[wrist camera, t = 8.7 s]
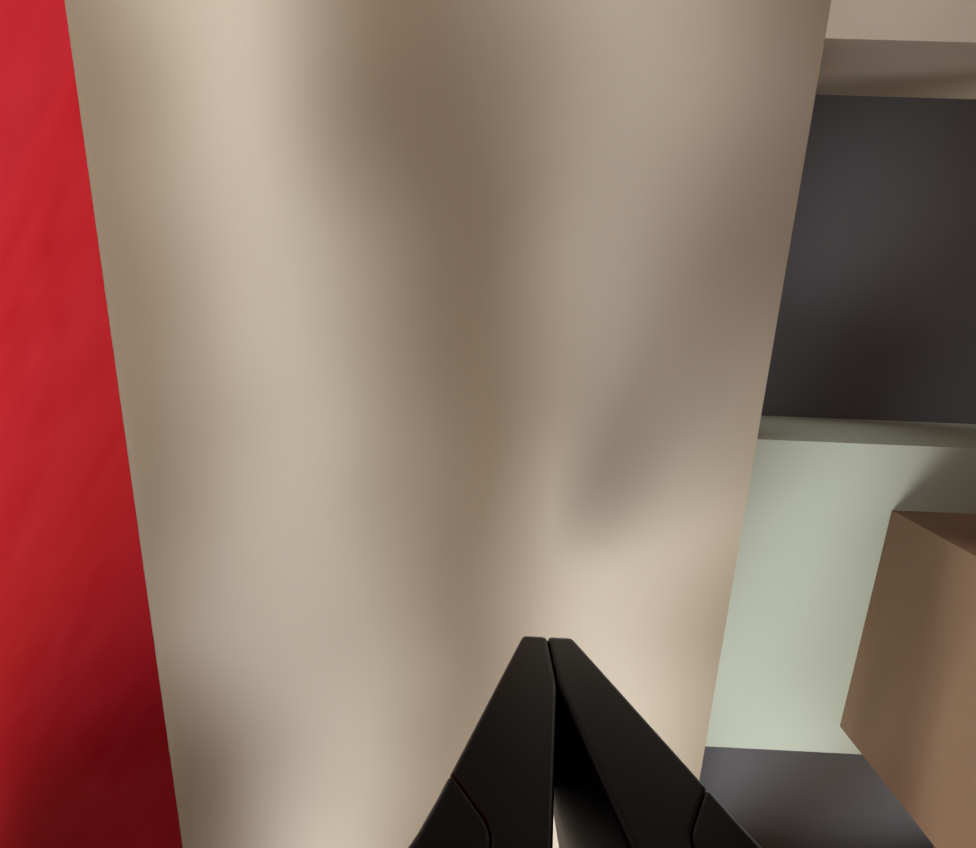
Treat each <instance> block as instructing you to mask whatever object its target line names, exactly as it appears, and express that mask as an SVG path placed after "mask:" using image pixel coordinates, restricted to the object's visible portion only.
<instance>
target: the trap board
mask: <svg viewBox="0 0 976 848" xmlns="http://www.w3.org/2000/svg"><path fill="white" fill-rule="evenodd" d="M65 7H66V14H67V21H68V28H69V35H70V42H71V50H72V57H73V64H74V71H75V78H76V86H77V93H78V100H79V107H80V114H81V121H82V129H83V136H84V143H85V150H86V157H87V164H88V172H89V179H90V186H91V193H92V200H93V208H94V215H95V222H96V229H97V236H98V243H99V251H100V258H101V265H102V272H103V279H104V286H105V294H106V301H107V308H108V315H109V322H110V330H111V337H112V344H113V351H114V358H115V365H116V373H117V380H118V387H119V394H120V401H121V408H122V416H123V423H124V430H125V437H126V444H127V452H128V459H129V466H130V473H131V480H132V487H133V495H134V502H135V509H136V516H137V523H138V530H139V538H140V545H141V552H142V559H143V566H144V574H145V581H146V588H147V595H148V602H149V609H150V617H151V624H152V631H153V638H154V645H155V653H156V660H157V667H158V674H159V681H160V688H161V696H162V703H163V710H164V717H165V724H166V731H167V739H168V746H169V753H170V760H171V767H172V775H173V782H174V789H175V796H176V803H177V810H178V818H179V825H180V832H181V839H182V846H183V848H408V847H409V846H410V844H411V843H412V841H413V840H414V838H415V836H416V835H417V833H418V832H419V830H420V828H421V827H422V825H423V823H424V821H425V820H426V818H427V816H428V814H429V813H430V811H431V809H432V807H433V806H434V804H435V802H436V800H437V799H438V797H439V795H440V793H441V791H442V789H443V787H444V785H445V783H446V781H447V780H448V779H449V778H450V775H451V772H452V771H453V769H454V767H455V765H456V763H457V761H458V759H459V757H460V755H461V753H462V751H463V750H464V748H465V746H466V744H467V742H468V740H469V738H470V736H471V734H472V732H473V730H474V729H475V727H476V725H477V723H478V721H479V719H480V717H481V715H482V713H483V711H484V709H485V708H486V706H487V704H488V702H489V700H490V698H491V696H492V694H493V692H494V690H495V688H496V687H497V685H498V683H499V681H500V679H501V677H502V675H503V673H504V671H505V669H506V667H507V666H508V664H509V662H510V660H511V658H512V656H513V654H514V652H515V650H516V648H517V646H518V645H519V643H520V641H521V639H522V638H523V637H524V636H535V637H544V638H546V639H547V641H548V639H549V638H551V637H555V638H570V639H572V640H573V641H575V643H576V644H577V645H578V646H579V647H580V648H581V649H582V650H583V651H584V653H585V654H586V655H587V656H588V657H589V658H590V659H591V660H592V662H593V663H594V664H595V665H596V666H597V667H598V668H599V669H600V670H601V672H602V673H603V674H604V675H605V676H606V677H607V678H608V679H609V680H610V682H611V683H612V684H613V685H614V686H615V687H616V688H617V689H618V690H619V692H620V693H621V694H622V695H623V696H624V697H625V698H626V699H627V701H628V702H629V703H630V704H631V705H632V706H633V707H634V708H635V709H636V711H637V712H638V713H639V714H640V715H641V716H642V717H643V718H644V719H645V721H646V722H647V723H648V724H649V725H650V726H651V727H652V728H653V729H654V731H655V732H656V733H657V734H658V735H659V736H660V737H661V738H662V740H663V741H664V742H665V743H666V744H667V745H668V746H669V747H670V748H671V750H672V751H673V752H674V753H675V754H676V755H677V756H678V757H679V758H680V760H681V761H682V762H683V763H684V764H685V765H686V766H687V767H688V768H689V770H690V771H691V772H692V773H693V774H694V775H695V776H696V777H697V779H698V780H699V781H700V782H701V783H702V784H703V785H704V786H705V788H706V792H710V793H711V794H712V795H713V796H714V797H715V798H716V799H717V800H718V802H719V803H720V804H721V805H722V806H723V807H724V808H725V809H726V811H727V812H728V813H729V814H730V815H731V816H732V817H733V818H734V819H735V820H736V821H737V822H738V823H739V825H740V826H741V827H742V828H743V829H744V830H745V831H746V832H747V833H748V834H749V835H750V836H751V837H752V838H753V839H754V840H755V842H756V843H757V844H758V845H759V846H760V847H761V848H935V846H934V845H933V844H932V843H931V841H930V840H929V839H928V838H927V836H926V835H925V834H924V833H923V831H922V830H921V829H920V827H919V826H918V825H917V824H916V822H915V821H914V820H913V819H912V817H911V816H910V815H909V813H908V812H907V811H906V810H905V808H904V807H903V806H902V805H901V803H900V802H899V801H898V799H897V798H896V797H895V796H894V794H893V793H892V792H891V791H890V789H889V788H888V787H887V786H886V784H885V783H884V782H883V780H882V779H881V778H880V777H879V775H878V774H877V773H876V772H875V770H874V769H873V768H872V766H871V765H870V764H869V763H868V761H867V760H866V759H865V758H864V756H863V755H862V754H861V753H860V751H859V750H858V749H857V747H856V746H855V745H854V744H853V742H852V741H851V740H850V739H849V737H848V736H847V735H846V733H845V732H844V731H843V730H842V728H841V727H840V723H841V719H842V715H843V711H844V706H845V702H846V698H847V694H848V690H849V686H850V681H851V677H852V673H853V669H854V665H855V661H856V657H857V652H858V648H859V644H860V640H861V636H862V632H863V628H864V623H865V619H866V615H867V611H868V607H869V603H870V599H871V594H872V590H873V586H874V582H875V578H876V574H877V569H878V565H879V561H880V557H881V553H882V549H883V545H884V540H885V536H886V532H887V528H888V524H889V520H890V516H891V511H892V510H896V511H920V512H944V513H968V514H976V0H65ZM553 848H559V844H558V838H557V832H556V826H555V820H554V817H553Z"/></svg>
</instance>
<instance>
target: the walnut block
mask: <svg viewBox="0 0 976 848" xmlns="http://www.w3.org/2000/svg"><path fill="white" fill-rule="evenodd" d="M840 727H841V728H842V730H843V731H844V732H845V733H846V735H847V736H848V737H849V739H850V740H851V741H852V742H853V744H854V745H855V746H856V747H857V749H858V750H859V751H860V753H861V754H862V755H863V756H864V758H865V759H866V760H867V761H868V763H869V764H870V765H871V766H872V768H873V769H874V770H875V772H876V773H877V774H878V775H879V777H880V778H881V779H882V780H883V782H884V783H885V784H886V786H887V787H888V788H889V789H890V791H891V792H892V793H893V794H894V796H895V797H896V798H897V799H898V801H899V802H900V803H901V805H902V806H903V807H904V808H905V810H906V811H907V812H908V813H909V815H910V816H911V817H912V819H913V820H914V821H915V822H916V824H917V825H918V826H919V827H920V829H921V830H922V831H923V833H924V834H925V835H926V836H927V838H928V839H929V840H930V841H931V843H932V844H933V845H934V846H935V848H976V514H968V513H944V512H920V511H896V510H892V511H891V516H890V520H889V524H888V528H887V532H886V536H885V540H884V545H883V549H882V553H881V557H880V561H879V565H878V569H877V574H876V578H875V582H874V586H873V590H872V594H871V599H870V603H869V607H868V611H867V615H866V619H865V623H864V628H863V632H862V636H861V640H860V644H859V648H858V652H857V657H856V661H855V665H854V669H853V673H852V677H851V681H850V686H849V690H848V694H847V698H846V702H845V706H844V711H843V715H842V719H841V723H840Z"/></svg>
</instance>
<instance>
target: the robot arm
mask: <svg viewBox="0 0 976 848" xmlns="http://www.w3.org/2000/svg"><path fill="white" fill-rule="evenodd" d="M553 817H554V820H555V826H556V832H557V838H558V844H559V848H761V847H760V846H759V845H758V844H757V843H756V842H755V840H754V839H753V838H752V837H751V836H750V835H749V834H748V833H747V832H746V831H745V830H744V829H743V828H742V827H741V826H740V825H739V823H738V822H737V821H736V820H735V819H734V818H733V817H732V816H731V815H730V814H729V813H728V812H727V811H726V809H725V808H724V807H723V806H722V805H721V804H720V803H719V802H718V800H717V799H716V798H715V797H714V796H713V795H712V794H711V793H710V792H706V788H705V786H704V785H703V784H702V783H701V782H700V781H699V780H698V779H697V777H696V776H695V775H694V774H693V773H692V772H691V771H690V770H689V768H688V767H687V766H686V765H685V764H684V763H683V762H682V761H681V760H680V758H679V757H678V756H677V755H676V754H675V753H674V752H673V751H672V750H671V748H670V747H669V746H668V745H667V744H666V743H665V742H664V741H663V740H662V738H661V737H660V736H659V735H658V734H657V733H656V732H655V731H654V729H653V728H652V727H651V726H650V725H649V724H648V723H647V722H646V721H645V719H644V718H643V717H642V716H641V715H640V714H639V713H638V712H637V711H636V709H635V708H634V707H633V706H632V705H631V704H630V703H629V702H628V701H627V699H626V698H625V697H624V696H623V695H622V694H621V693H620V692H619V690H618V689H617V688H616V687H615V686H614V685H613V684H612V683H611V682H610V680H609V679H608V678H607V677H606V676H605V675H604V674H603V673H602V672H601V670H600V669H599V668H598V667H597V666H596V665H595V664H594V663H593V662H592V660H591V659H590V658H589V657H588V656H587V655H586V654H585V653H584V651H583V650H582V649H581V648H580V647H579V646H578V645H577V644H576V643H575V641H573V640H572V639H570V638H555V637H551V638H549V639H548V641H547V639H546V638H544V637H535V636H524V637H523V638H522V639H521V641H520V643H519V645H518V646H517V648H516V650H515V652H514V654H513V656H512V658H511V660H510V662H509V664H508V666H507V667H506V669H505V671H504V673H503V675H502V677H501V679H500V681H499V683H498V685H497V687H496V688H495V690H494V692H493V694H492V696H491V698H490V700H489V702H488V704H487V706H486V708H485V709H484V711H483V713H482V715H481V717H480V719H479V721H478V723H477V725H476V727H475V729H474V730H473V732H472V734H471V736H470V738H469V740H468V742H467V744H466V746H465V748H464V750H463V751H462V753H461V755H460V757H459V759H458V761H457V763H456V765H455V767H454V769H453V771H452V772H451V775H450V778H449V779H448V780H447V781H446V783H445V785H444V787H443V789H442V791H441V793H440V795H439V797H438V799H437V800H436V802H435V804H434V806H433V807H432V809H431V811H430V813H429V814H428V816H427V818H426V820H425V821H424V823H423V825H422V827H421V828H420V830H419V832H418V833H417V835H416V836H415V838H414V840H413V841H412V843H411V844H410V846H409V847H408V848H553Z"/></svg>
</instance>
